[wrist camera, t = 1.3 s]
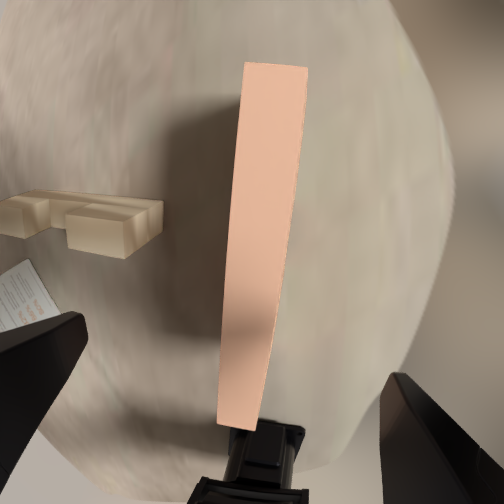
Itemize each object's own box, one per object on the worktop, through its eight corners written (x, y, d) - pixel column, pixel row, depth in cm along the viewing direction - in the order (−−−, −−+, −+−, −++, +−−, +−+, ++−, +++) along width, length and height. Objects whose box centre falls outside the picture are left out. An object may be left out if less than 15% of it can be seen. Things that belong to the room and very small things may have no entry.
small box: (7, 276, 25) (-66, 325, 15) (29, 256, 23) (-57, 309, 14) (47, 343, 27) (-15, 404, 17) (75, 331, 25) (4, 403, 16)
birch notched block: (163, 231, 20) (124, 259, 16) (37, 213, 22) (-7, 232, 17) (163, 200, 20) (122, 222, 15) (35, 189, 21) (-10, 204, 16)
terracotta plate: (272, 342, 22) (255, 431, 14) (244, 338, 22) (216, 423, 15) (306, 98, 16) (307, 67, 9) (270, 93, 16) (244, 62, 9)
